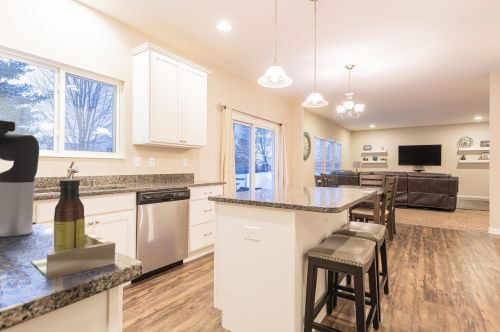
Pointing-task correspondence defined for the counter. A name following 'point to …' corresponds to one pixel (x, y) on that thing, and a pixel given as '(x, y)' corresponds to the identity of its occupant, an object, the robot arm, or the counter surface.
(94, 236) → the beige l-shaped piece
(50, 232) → the counter surface
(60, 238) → the sauce bottle
